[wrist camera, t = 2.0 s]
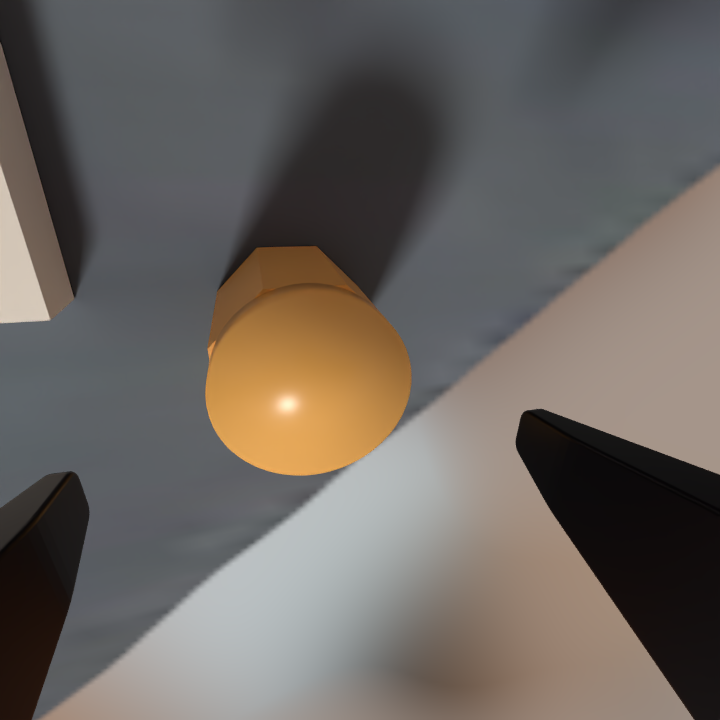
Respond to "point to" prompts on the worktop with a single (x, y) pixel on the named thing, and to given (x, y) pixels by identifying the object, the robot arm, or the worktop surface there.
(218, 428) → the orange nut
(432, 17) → the worktop surface
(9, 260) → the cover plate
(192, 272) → the worktop surface
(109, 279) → the worktop surface
